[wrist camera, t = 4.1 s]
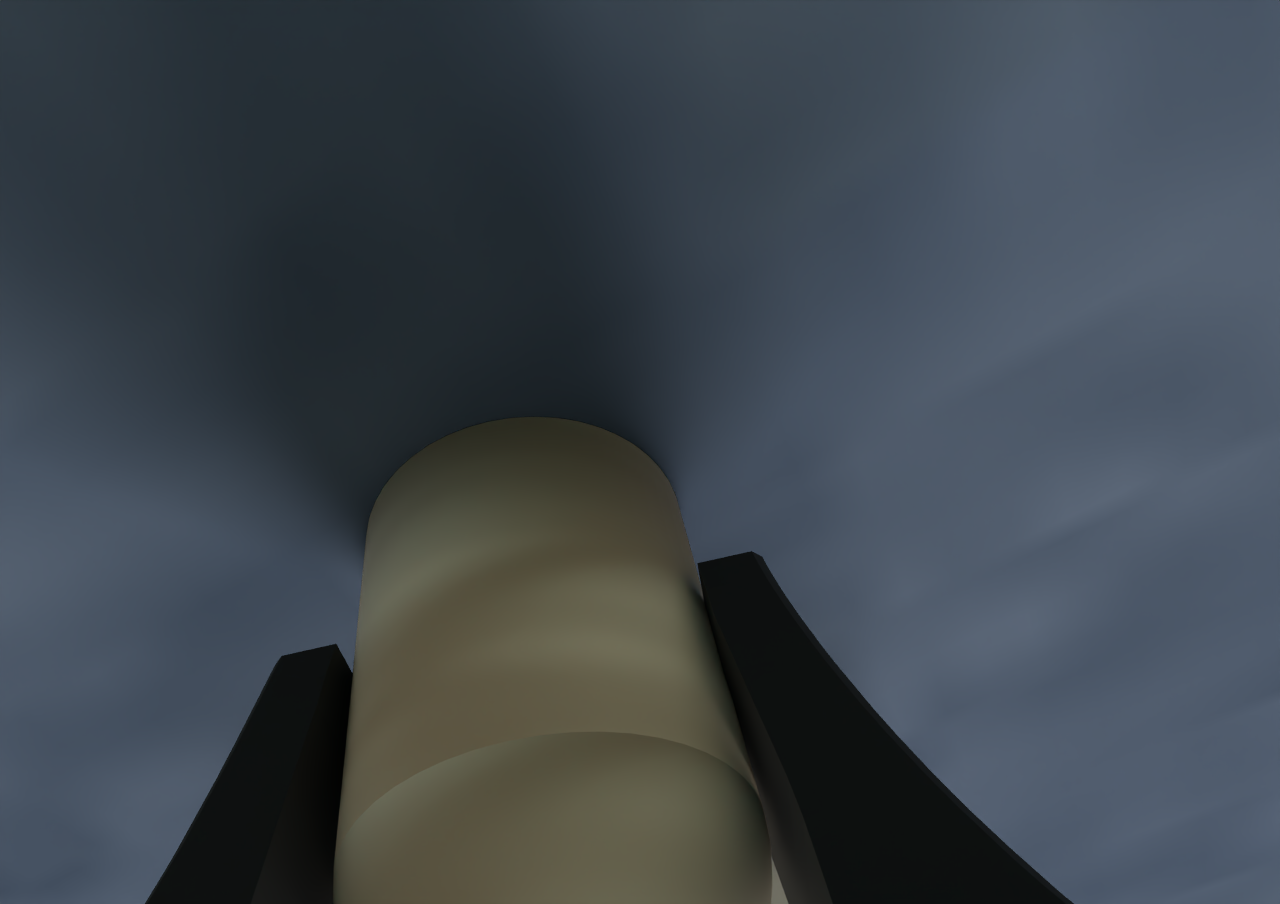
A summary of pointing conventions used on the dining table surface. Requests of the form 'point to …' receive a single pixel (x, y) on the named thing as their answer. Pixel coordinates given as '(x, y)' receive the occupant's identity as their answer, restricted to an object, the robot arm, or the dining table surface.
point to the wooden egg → (540, 688)
